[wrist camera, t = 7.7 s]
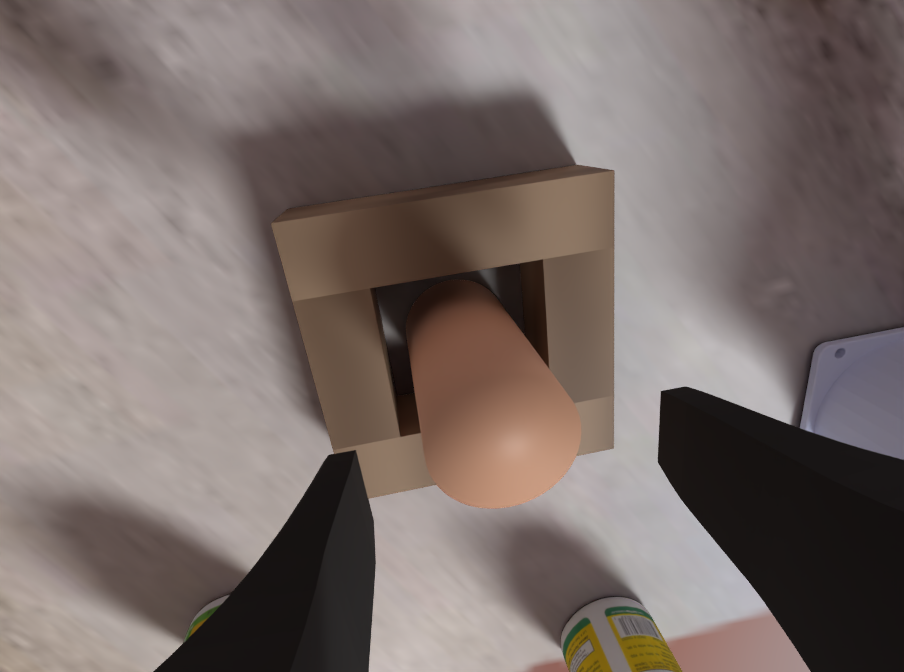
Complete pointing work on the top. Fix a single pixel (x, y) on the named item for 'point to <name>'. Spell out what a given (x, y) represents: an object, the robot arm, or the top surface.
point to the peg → (486, 400)
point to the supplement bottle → (615, 639)
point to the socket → (440, 254)
